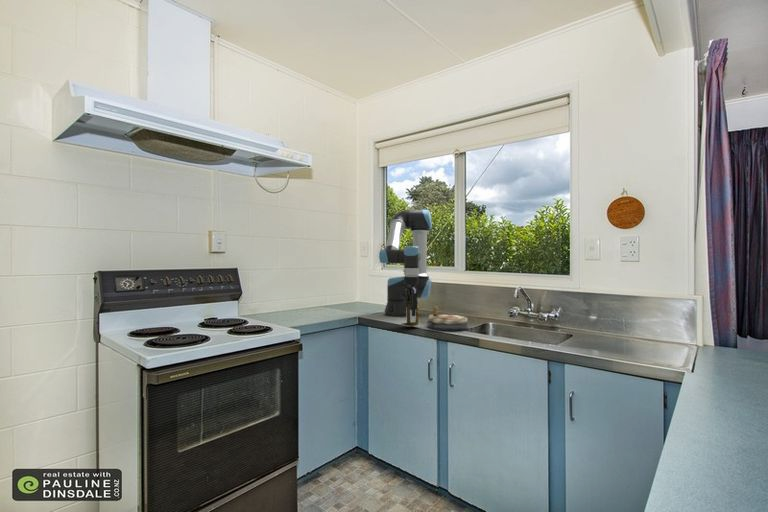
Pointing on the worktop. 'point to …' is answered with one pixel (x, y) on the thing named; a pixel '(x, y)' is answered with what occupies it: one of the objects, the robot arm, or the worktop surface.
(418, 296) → the robot arm
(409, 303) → the condiment
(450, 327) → the turntable base
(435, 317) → the turntable
